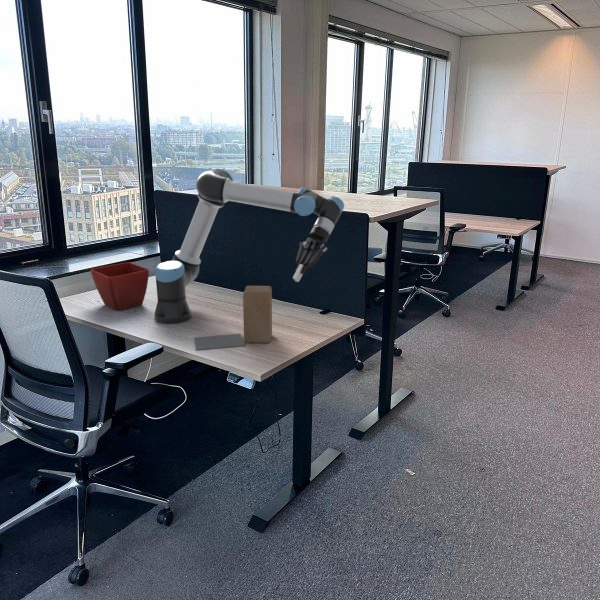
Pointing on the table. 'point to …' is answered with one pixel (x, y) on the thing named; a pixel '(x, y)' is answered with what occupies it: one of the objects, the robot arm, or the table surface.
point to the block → (257, 314)
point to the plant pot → (121, 284)
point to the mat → (218, 341)
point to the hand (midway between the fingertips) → (295, 279)
